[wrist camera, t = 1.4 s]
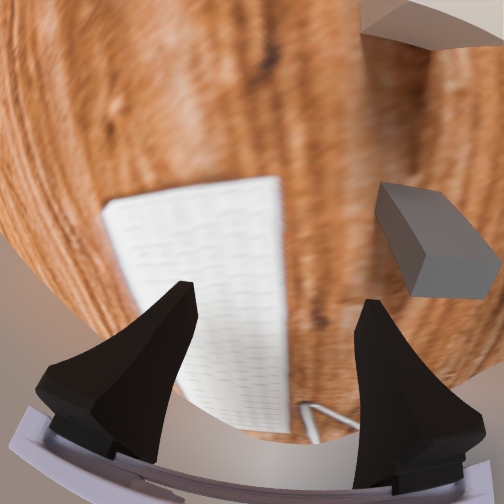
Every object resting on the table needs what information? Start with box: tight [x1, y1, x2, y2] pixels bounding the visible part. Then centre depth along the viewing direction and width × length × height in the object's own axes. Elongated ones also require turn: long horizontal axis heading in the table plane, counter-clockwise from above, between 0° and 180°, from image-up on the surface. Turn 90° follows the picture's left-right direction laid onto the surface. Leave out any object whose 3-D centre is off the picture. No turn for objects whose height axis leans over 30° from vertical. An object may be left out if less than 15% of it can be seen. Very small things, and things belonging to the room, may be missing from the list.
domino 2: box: [375, 182, 502, 299], centre depth 15 cm, size 2×5×9 cm, turn 90°
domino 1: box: [360, 0, 504, 51], centre depth 9 cm, size 2×5×9 cm, turn 90°
